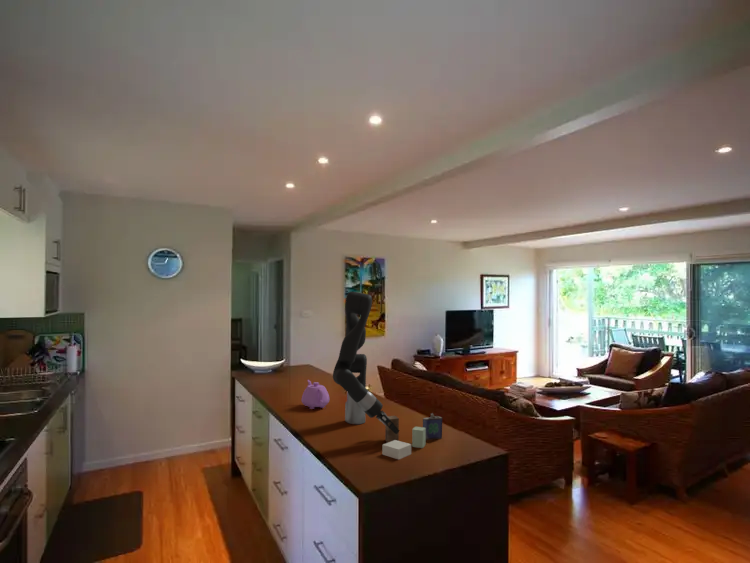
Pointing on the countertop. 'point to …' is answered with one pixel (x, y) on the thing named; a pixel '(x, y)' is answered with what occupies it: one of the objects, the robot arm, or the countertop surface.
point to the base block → (396, 449)
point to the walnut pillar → (388, 432)
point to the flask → (433, 427)
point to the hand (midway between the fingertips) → (394, 429)
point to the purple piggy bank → (315, 395)
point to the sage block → (418, 437)
